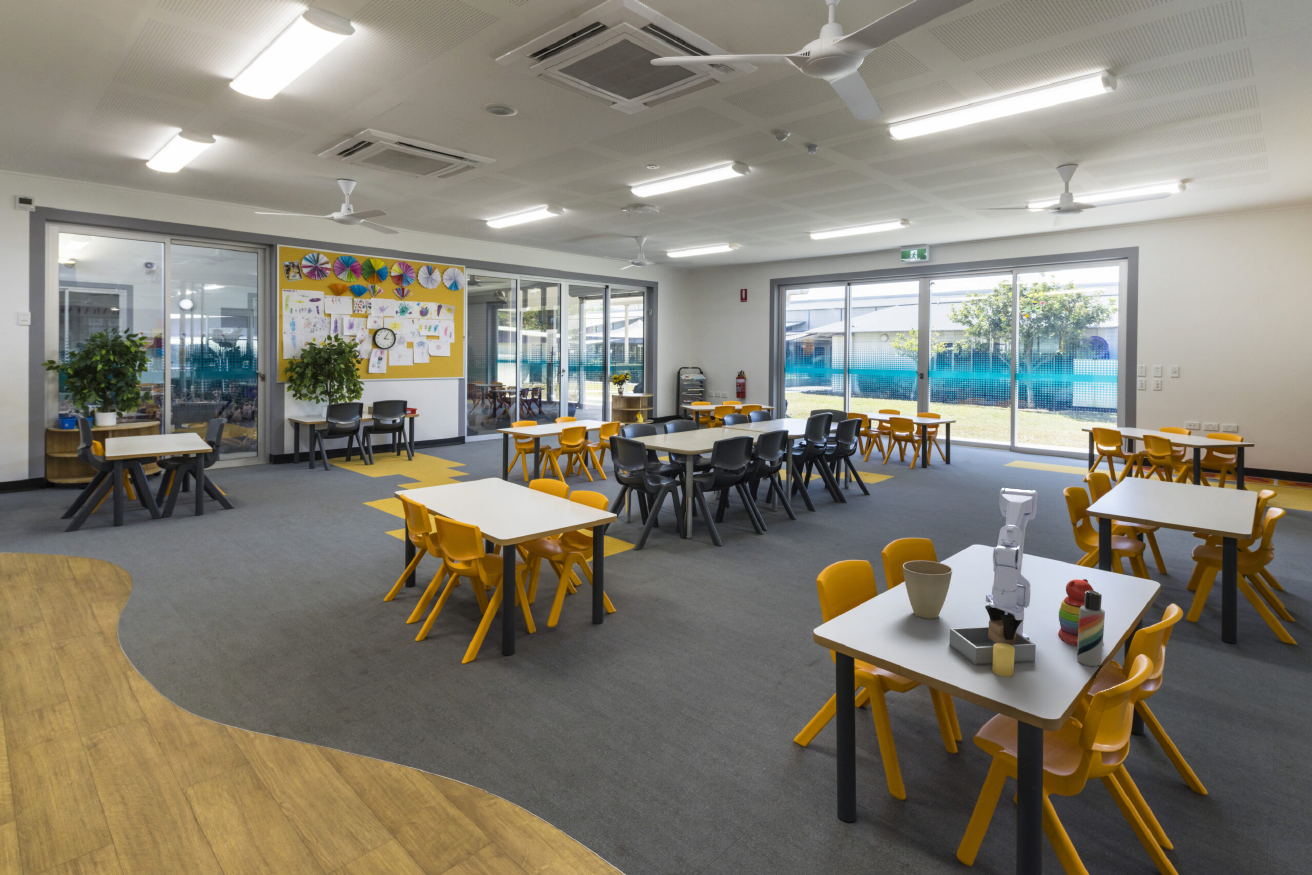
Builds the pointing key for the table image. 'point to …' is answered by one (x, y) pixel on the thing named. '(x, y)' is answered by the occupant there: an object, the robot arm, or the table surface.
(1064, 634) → the stacking bear
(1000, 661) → the mustard cylinder
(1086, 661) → the lotion bottle
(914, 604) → the plant pot
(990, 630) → the wooden block
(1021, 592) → the robot arm
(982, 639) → the tray
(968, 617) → the table surface
